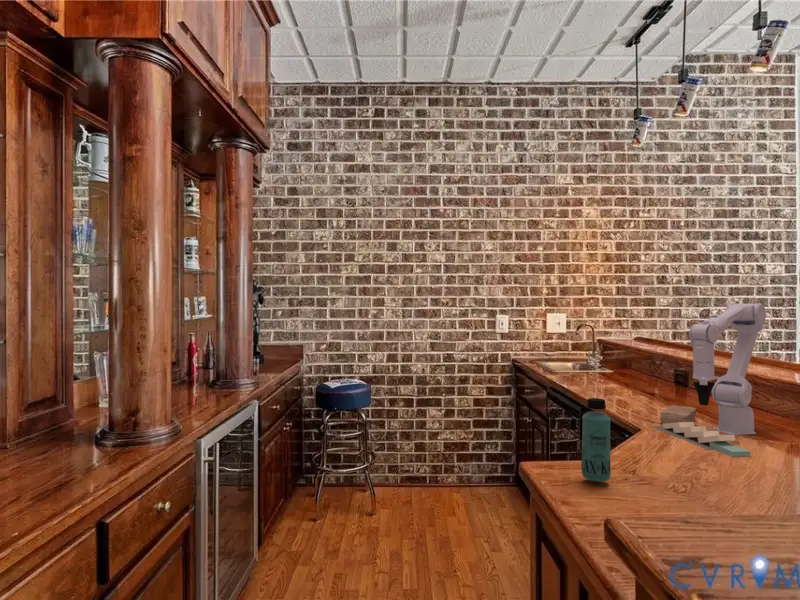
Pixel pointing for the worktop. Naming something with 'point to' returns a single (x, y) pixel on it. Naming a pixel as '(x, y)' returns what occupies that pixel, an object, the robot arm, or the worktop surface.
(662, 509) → the worktop surface
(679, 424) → the ivory domino
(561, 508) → the worktop surface
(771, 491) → the worktop surface
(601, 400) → the beverage bottle
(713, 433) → the ivory domino
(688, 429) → the ivory domino
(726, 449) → the teal domino
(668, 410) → the brick
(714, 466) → the worktop surface
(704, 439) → the ivory domino
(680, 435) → the mat
